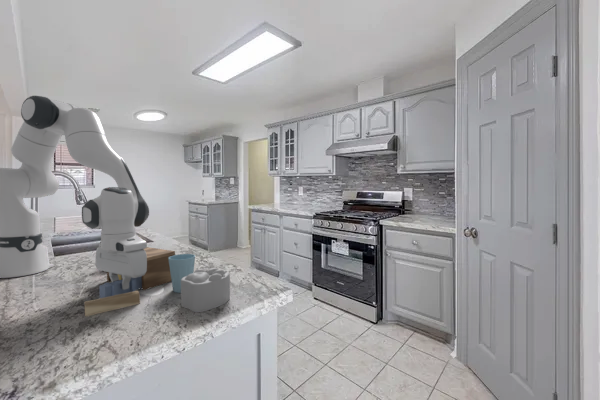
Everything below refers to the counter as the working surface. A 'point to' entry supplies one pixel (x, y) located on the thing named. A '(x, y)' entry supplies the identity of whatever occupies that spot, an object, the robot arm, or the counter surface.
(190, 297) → the lumpy-topped squat cylinder
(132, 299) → the beech stick
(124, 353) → the counter surface
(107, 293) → the crook
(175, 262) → the cup
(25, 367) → the counter surface
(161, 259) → the box
